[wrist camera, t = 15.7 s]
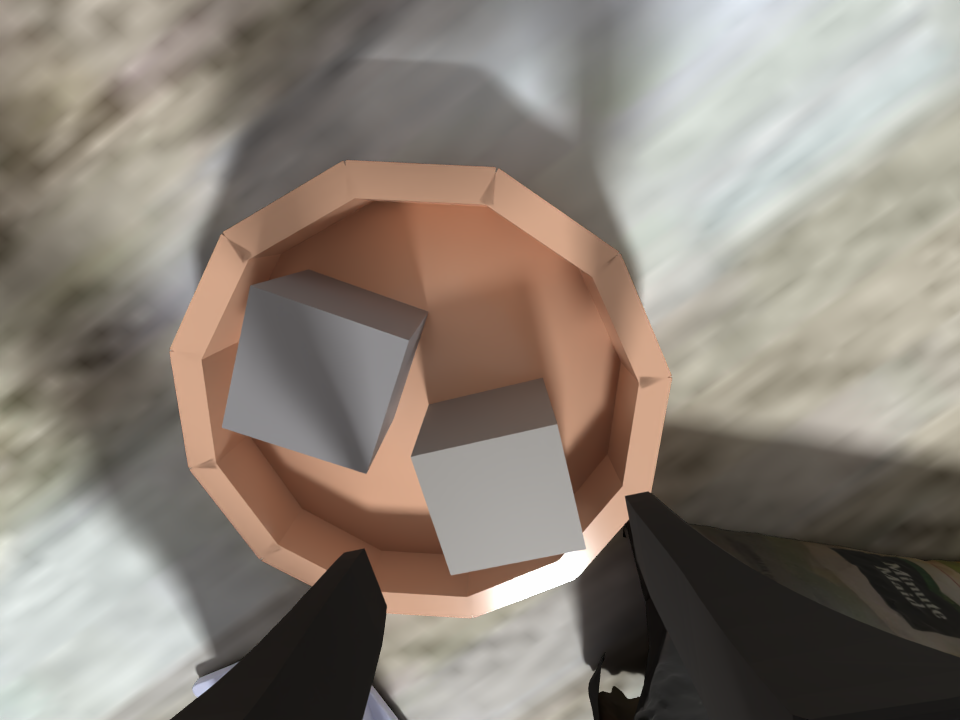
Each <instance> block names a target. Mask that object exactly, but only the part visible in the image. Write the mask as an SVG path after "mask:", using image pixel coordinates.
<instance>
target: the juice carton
mask: <svg viewBox="0 0 960 720" xmlns="http://www.w3.org/2000/svg"><path fill="white" fill-rule="evenodd" d="M689 525H690V526H692V527H693V528H694V529H696V530H697V531H698V532H700V533H701V534H702V535H704V536H705V537H706V538H708V539H709V540H711V541H712V542H713V543H715V544H716V545H718V546H719V547H720V548H722V549H723V550H725V551H726V552H728V553H729V554H731V555H732V556H734V557H735V558H737V559H738V560H740V561H742V562H743V563H745V564H746V565H748V566H750V567H751V568H753V569H754V570H756V571H758V572H760V573H761V574H763V575H765V576H767V577H768V578H770V579H772V580H774V581H776V582H777V583H779V584H781V585H783V586H785V587H787V588H789V589H791V590H793V591H795V592H796V593H798V594H801V595H803V596H805V597H807V598H809V599H811V600H813V601H815V602H817V603H819V604H822V605H824V606H826V607H828V608H830V609H832V610H835V611H837V612H839V613H841V614H844V615H846V616H848V617H851V618H853V619H855V620H858V621H860V622H863V623H865V624H868V625H870V626H873V627H875V628H878V629H880V630H883V631H885V632H888V633H890V634H893V635H896V636H898V637H901V638H904V639H907V640H910V641H913V642H916V643H919V644H922V645H925V646H928V647H931V648H934V649H936V650H939V651H942V652H945V653H948V654H951V655H954V656H957V657H960V562H959V561H954V562H951V561H944V560H929V561H923V560H919V559H915V558H909V557H900V556H893V555H884V554H878V553H871V552H867V551H862V550H856V549H851V548H847V547H842V546H834V545H825V544H819V543H813V542H806V541H800V540H794V539H787V538H779V537H773V536H767V535H763V534H759V533H748V532H734V531H727V530H722V529H717V528H713V527H710V526H701V525H694V524H689ZM625 526H626V527H627V530H628V534H629V539H630V543H631V547H632V551H633V554H634V558H635V562H636V566H637V570H638V574H639V578H640V582H641V587H642V591H643V595H644V599H645V604H646V614H647V625H648V636H649V651H648V659H647V666H646V673H645V680H644V686H643V689H642V693H641V696H640V697H637V698H633V699H627V698H626V697H625V695H624V694H623V692H622V691H621V690H619V689H618V688H617V687H615V686H613V688H612V692H611V693H607V692H604V691H602V692H600V693H599V683H600V673H601V665H602V663H603V661H604V657H605V653H604V655H603V657H602V659H601V661H600V663H599V665H598V667H597V669H596V671H595V673H594V674H593V676H592V678H591V679H590V682H589V687H588V691H589V698H590V702H591V706H592V711H593V717H594V720H709V717H708V715H707V712H706V710H705V707H704V705H703V703H702V701H701V699H700V696H699V694H698V692H697V690H696V688H695V685H694V683H693V681H692V679H691V677H690V675H689V673H688V671H687V669H686V667H685V665H684V663H683V661H682V659H681V657H680V655H679V653H678V651H677V649H676V647H675V645H674V643H673V641H672V639H671V637H670V635H669V633H668V631H667V629H666V627H665V625H664V623H663V621H662V619H661V617H660V615H659V613H658V611H657V609H656V607H655V605H654V603H653V601H652V599H651V597H650V594H649V592H648V589H647V586H646V584H645V581H644V578H643V575H642V573H641V570H640V567H639V565H638V562H637V559H636V553H635V548H634V543H633V537H632V532H631V527H630V522H629V520H628V521H627V522H626V523H625V524H624V527H625ZM623 537H626V536H625V533H624V530H623Z"/></svg>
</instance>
